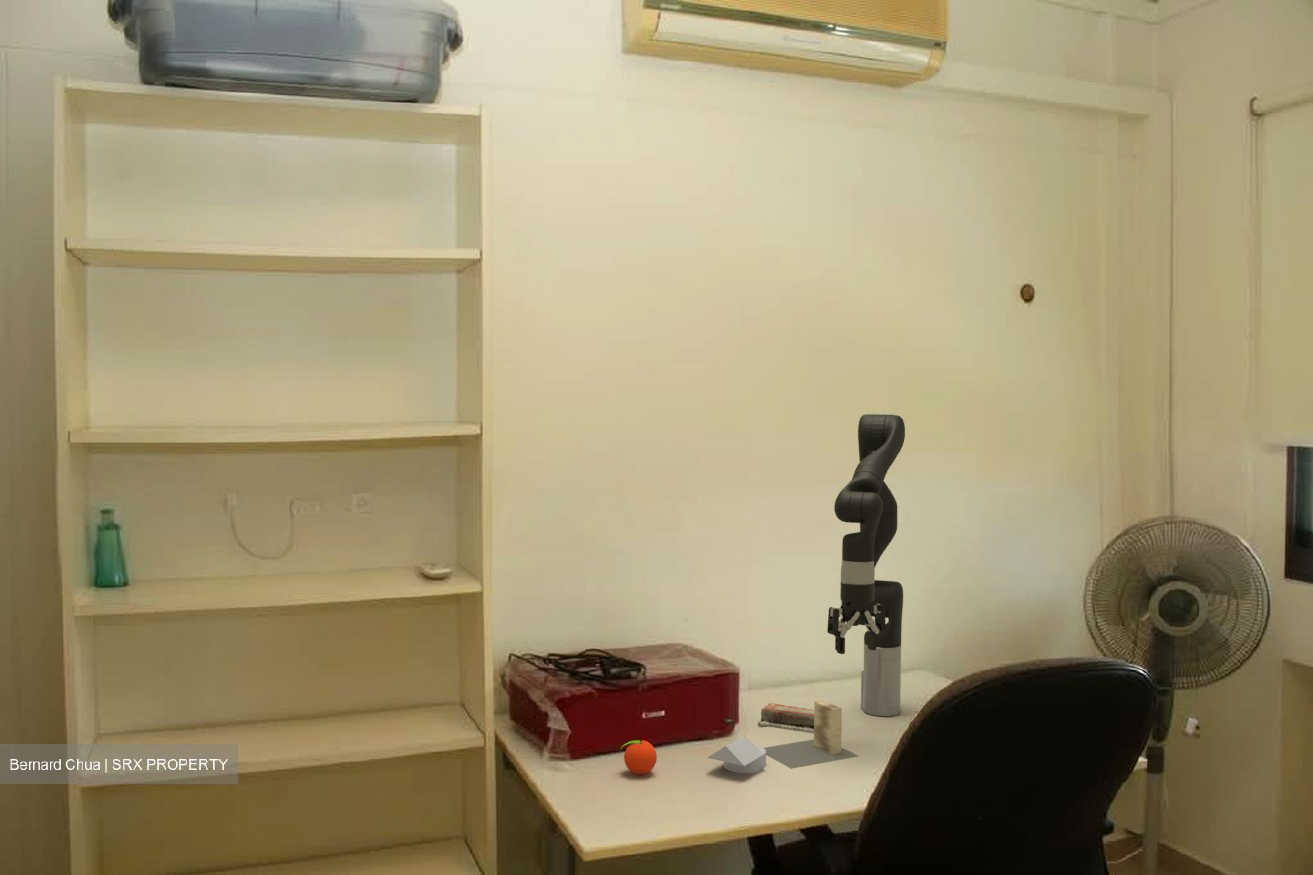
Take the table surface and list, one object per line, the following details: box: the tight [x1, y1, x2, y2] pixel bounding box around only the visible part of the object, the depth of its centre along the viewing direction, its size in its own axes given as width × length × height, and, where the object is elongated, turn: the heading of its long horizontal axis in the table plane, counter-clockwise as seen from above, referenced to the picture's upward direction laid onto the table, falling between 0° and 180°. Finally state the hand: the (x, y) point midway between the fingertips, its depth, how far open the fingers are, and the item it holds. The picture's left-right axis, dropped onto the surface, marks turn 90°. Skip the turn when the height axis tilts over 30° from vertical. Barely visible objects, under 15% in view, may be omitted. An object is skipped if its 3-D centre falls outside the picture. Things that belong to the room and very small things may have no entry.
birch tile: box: [813, 700, 843, 754], centre depth 246 cm, size 7×2×10 cm, turn 27°
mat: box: [763, 738, 859, 769], centre depth 244 cm, size 14×18×1 cm
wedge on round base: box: [707, 735, 767, 774], centre depth 235 cm, size 9×7×13 cm
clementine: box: [619, 739, 658, 775], centre depth 232 cm, size 8×7×7 cm
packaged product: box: [757, 702, 814, 734], centre depth 265 cm, size 18×5×10 cm
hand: (856, 651), depth 248 cm, fingers open, 8 cm apart
